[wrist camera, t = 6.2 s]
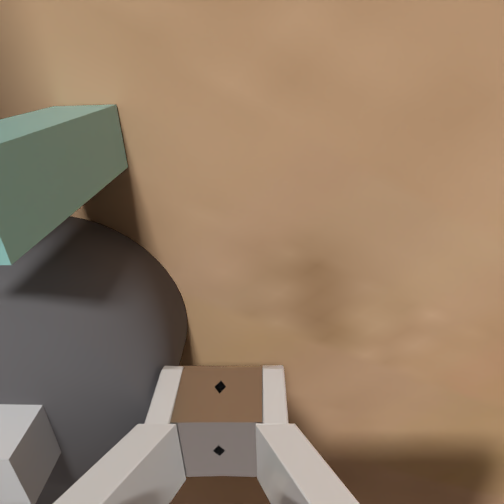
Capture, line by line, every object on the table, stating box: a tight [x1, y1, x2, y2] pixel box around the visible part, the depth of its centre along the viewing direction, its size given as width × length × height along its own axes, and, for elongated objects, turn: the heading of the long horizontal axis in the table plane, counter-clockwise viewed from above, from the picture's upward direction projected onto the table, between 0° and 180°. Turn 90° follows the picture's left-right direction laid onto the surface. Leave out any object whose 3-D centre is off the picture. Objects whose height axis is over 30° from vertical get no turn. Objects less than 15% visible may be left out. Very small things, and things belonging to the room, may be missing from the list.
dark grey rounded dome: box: [0, 216, 187, 504], centre depth 9 cm, size 7×7×5 cm
